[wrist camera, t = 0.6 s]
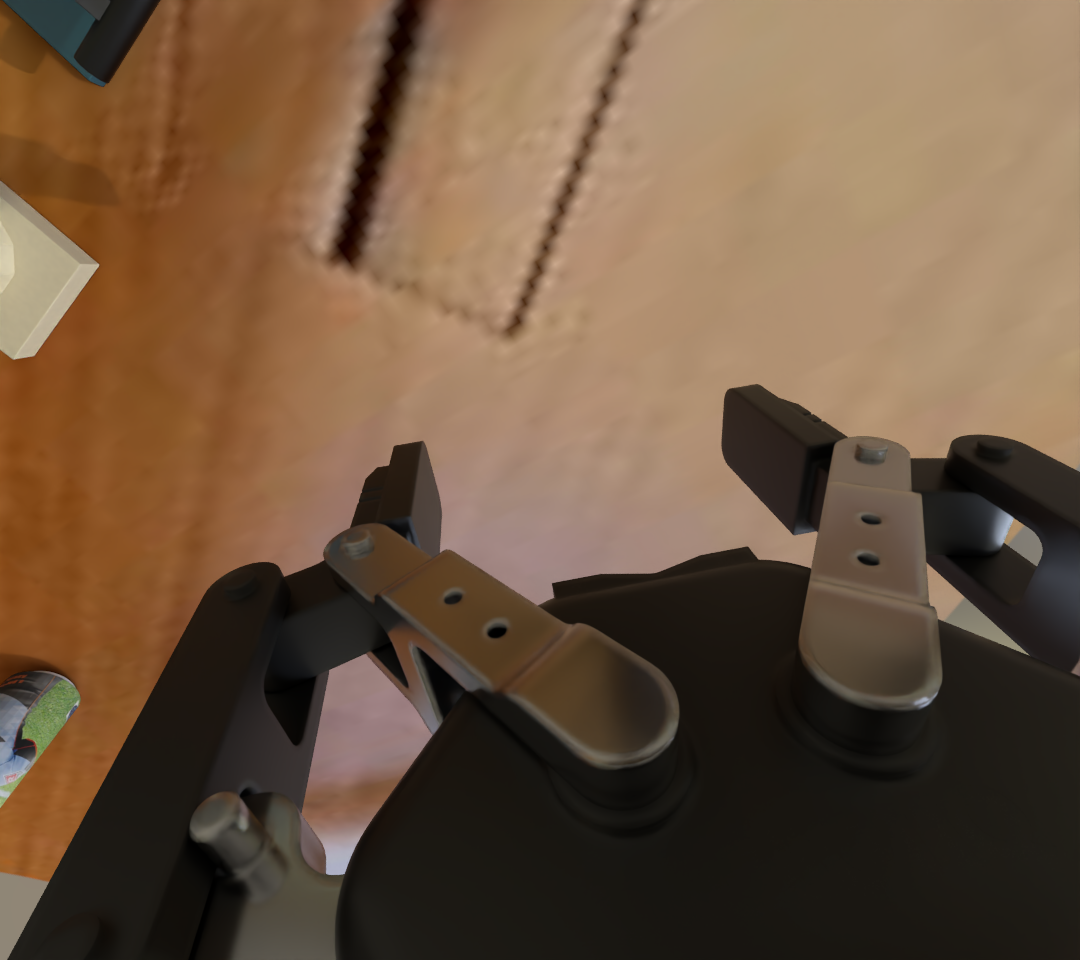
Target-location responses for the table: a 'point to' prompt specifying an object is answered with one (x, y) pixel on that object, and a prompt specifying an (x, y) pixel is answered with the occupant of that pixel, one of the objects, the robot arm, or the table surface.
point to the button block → (34, 275)
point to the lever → (111, 34)
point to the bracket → (58, 26)
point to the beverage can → (30, 721)
